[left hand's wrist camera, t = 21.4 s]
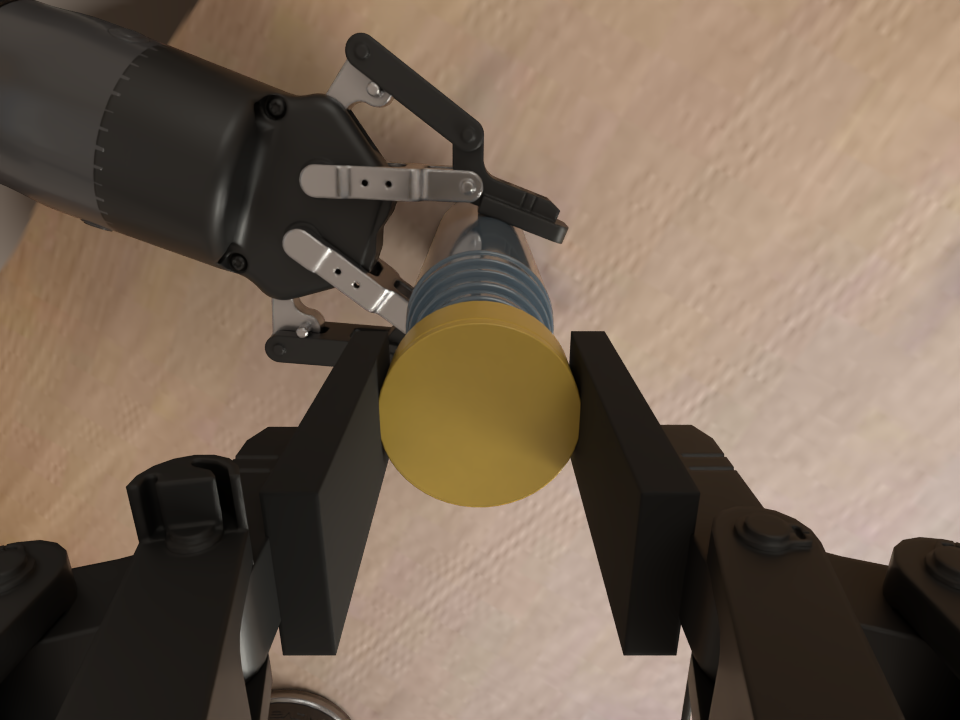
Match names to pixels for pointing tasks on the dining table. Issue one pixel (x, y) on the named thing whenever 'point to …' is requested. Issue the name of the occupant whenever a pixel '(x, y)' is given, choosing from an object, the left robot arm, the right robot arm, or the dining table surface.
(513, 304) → the bottle
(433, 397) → the cap
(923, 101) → the dining table surface
